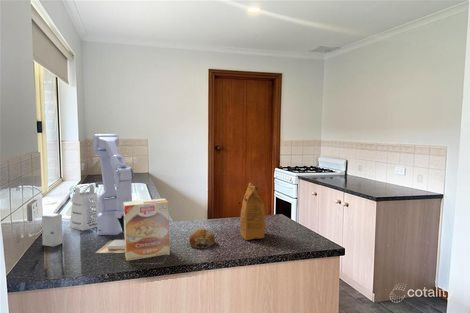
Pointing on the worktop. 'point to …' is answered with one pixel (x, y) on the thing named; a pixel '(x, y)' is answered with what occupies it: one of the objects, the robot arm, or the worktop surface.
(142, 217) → the coffeecake box
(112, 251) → the mat
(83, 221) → the grater
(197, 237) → the bread roll
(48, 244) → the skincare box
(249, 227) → the coffee package
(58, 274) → the worktop surface
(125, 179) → the robot arm
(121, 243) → the tile
